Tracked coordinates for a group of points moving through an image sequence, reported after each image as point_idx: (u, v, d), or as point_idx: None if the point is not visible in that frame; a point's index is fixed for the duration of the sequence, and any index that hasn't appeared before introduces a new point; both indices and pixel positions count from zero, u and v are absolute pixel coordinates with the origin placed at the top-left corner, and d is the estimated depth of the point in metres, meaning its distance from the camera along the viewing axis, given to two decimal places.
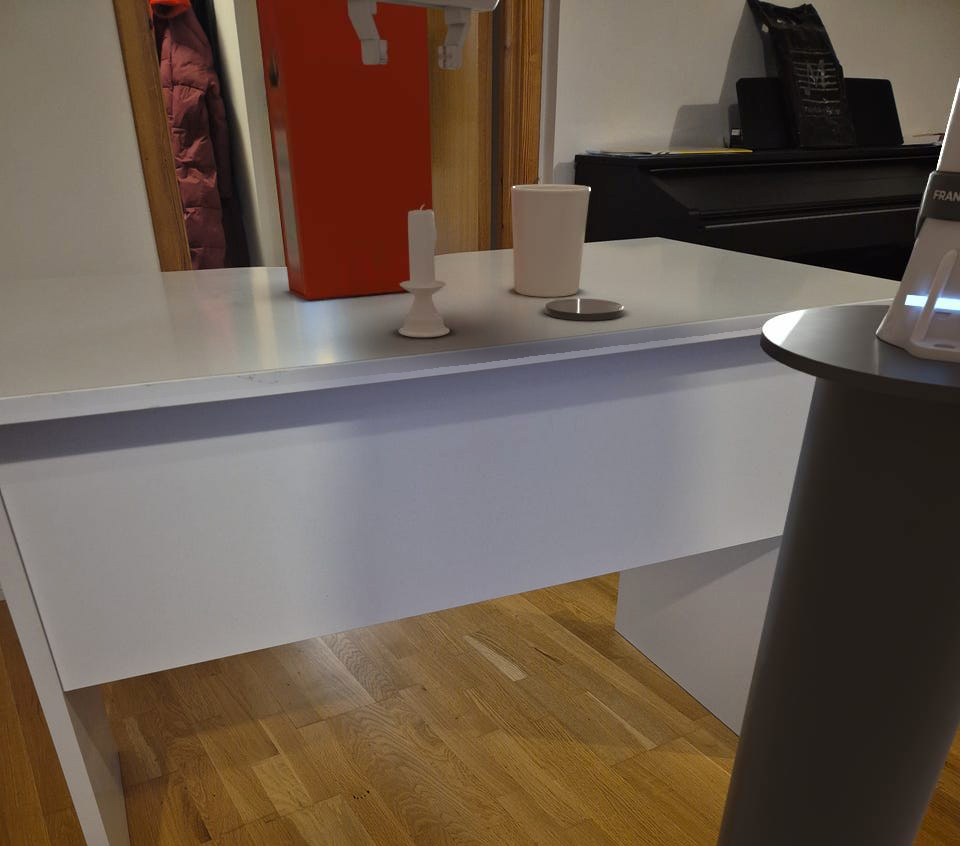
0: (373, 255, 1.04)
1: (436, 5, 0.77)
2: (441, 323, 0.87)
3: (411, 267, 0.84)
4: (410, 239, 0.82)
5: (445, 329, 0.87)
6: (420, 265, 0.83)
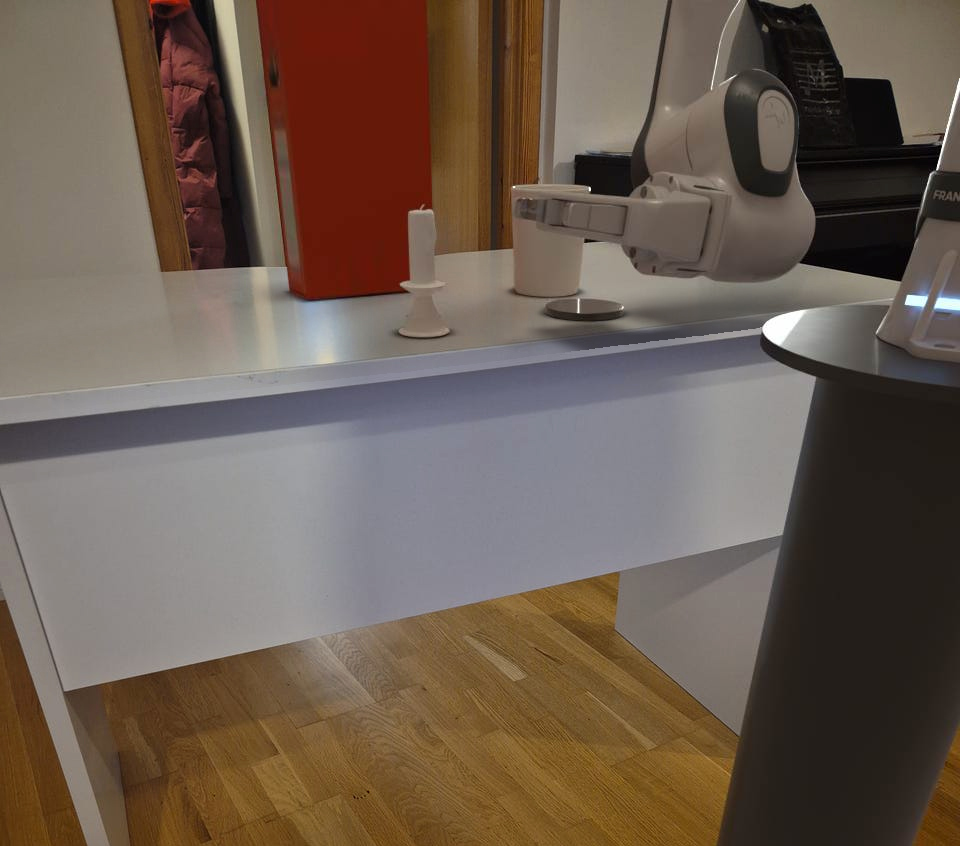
0: (373, 255, 1.04)
1: (609, 233, 0.73)
2: (441, 323, 0.87)
3: (411, 267, 0.84)
4: (410, 239, 0.82)
5: (445, 329, 0.87)
6: (420, 265, 0.83)
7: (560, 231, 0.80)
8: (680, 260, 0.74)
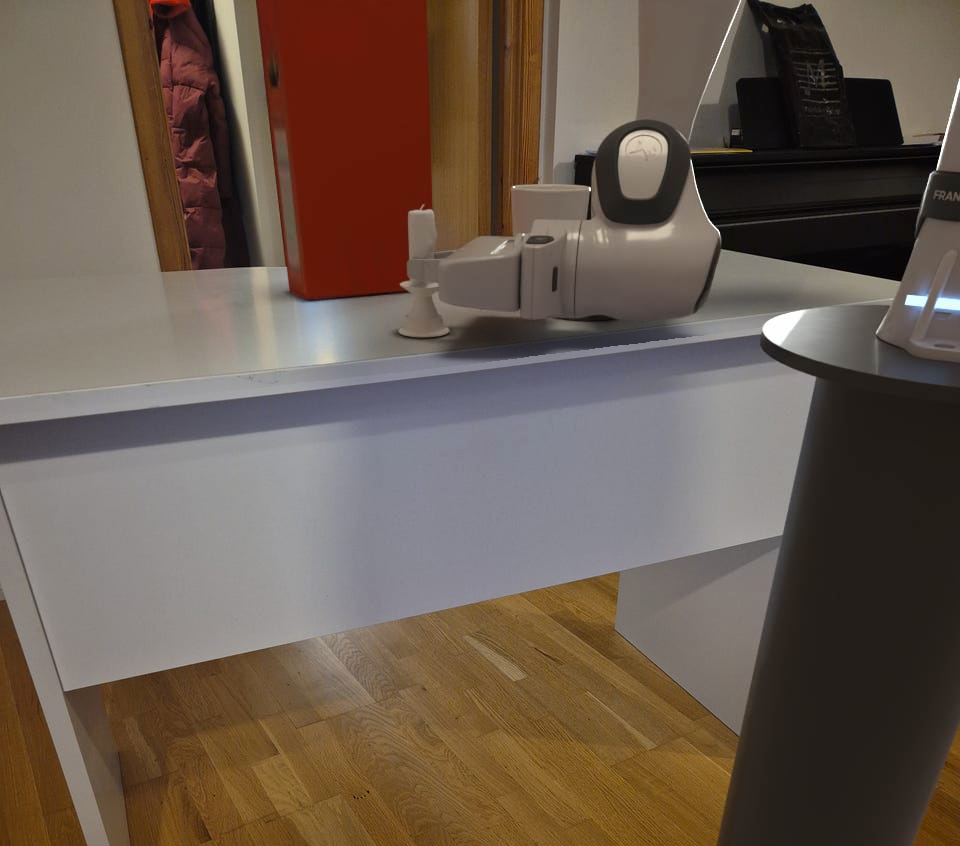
0: (373, 255, 1.04)
1: None
2: (441, 323, 0.87)
3: None
4: (410, 239, 0.82)
5: (445, 329, 0.87)
6: None
7: None
8: None
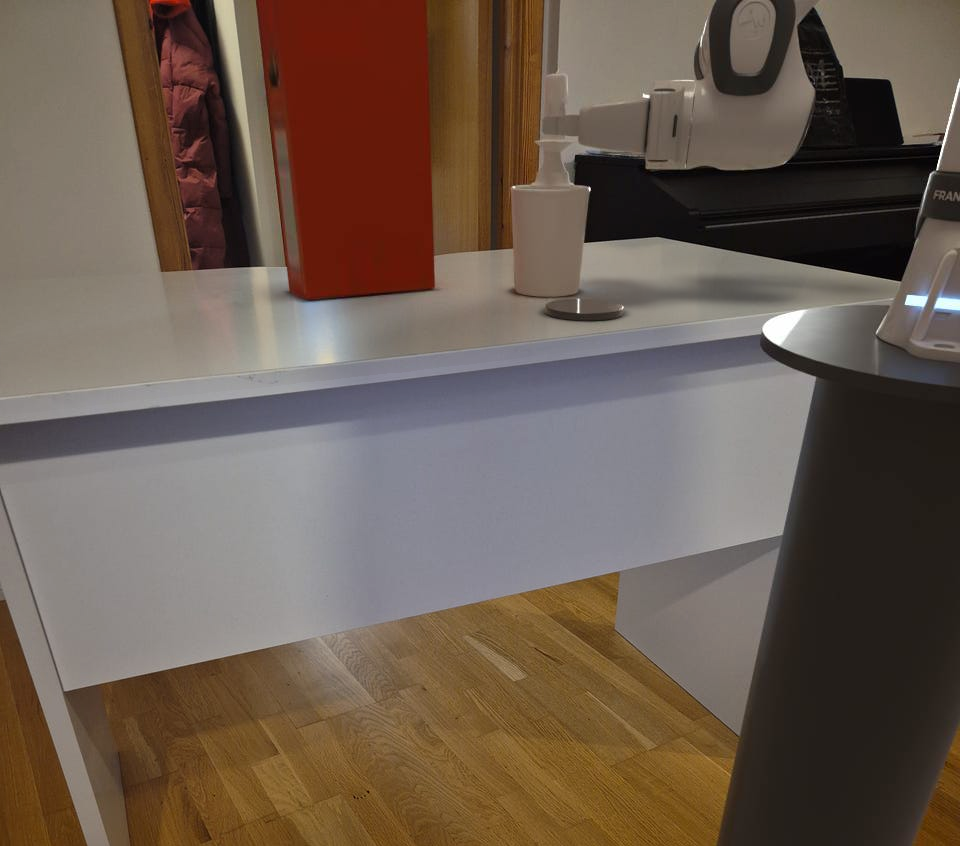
0: (373, 255, 1.04)
1: None
2: (568, 177, 1.01)
3: None
4: (547, 99, 0.97)
5: (571, 183, 1.02)
6: None
7: None
8: None
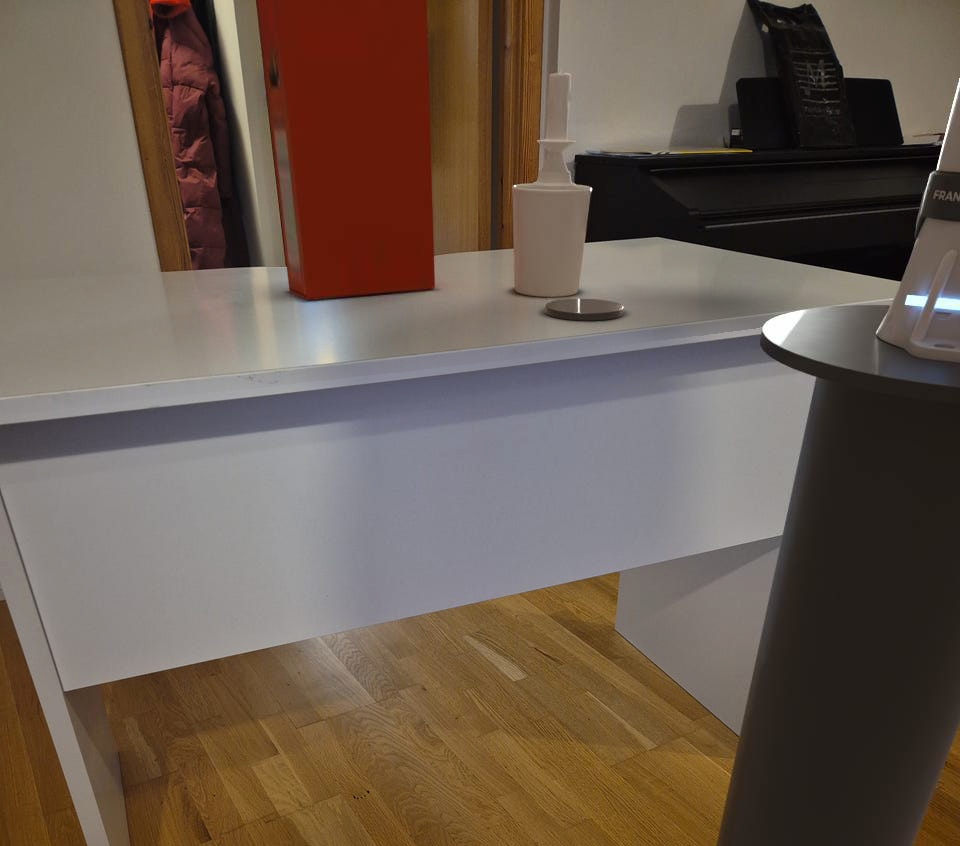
0: (373, 255, 1.04)
1: None
2: (570, 177, 1.01)
3: (549, 125, 0.98)
4: (550, 98, 0.97)
5: (572, 183, 1.02)
6: (557, 122, 0.98)
7: None
8: None
